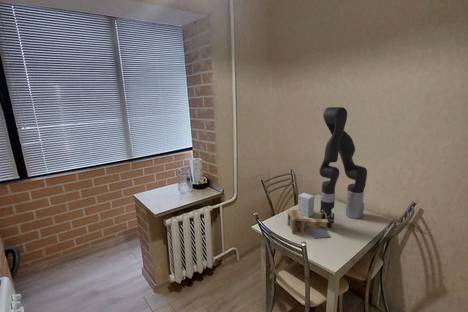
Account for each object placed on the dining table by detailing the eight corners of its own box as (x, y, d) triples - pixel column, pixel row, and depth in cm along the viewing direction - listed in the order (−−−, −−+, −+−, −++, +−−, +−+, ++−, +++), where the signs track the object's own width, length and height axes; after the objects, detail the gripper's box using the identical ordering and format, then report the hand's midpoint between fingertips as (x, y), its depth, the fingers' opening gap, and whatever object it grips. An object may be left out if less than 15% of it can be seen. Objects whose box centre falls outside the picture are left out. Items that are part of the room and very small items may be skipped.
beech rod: (331, 226, 149) (332, 219, 147) (333, 229, 145) (333, 222, 144) (304, 225, 151) (304, 218, 150) (304, 228, 148) (304, 221, 147)
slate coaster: (324, 228, 146) (324, 227, 146) (330, 237, 137) (330, 236, 137) (308, 229, 145) (308, 228, 145) (314, 238, 137) (314, 237, 137)
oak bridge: (298, 223, 153) (298, 209, 151) (303, 233, 142) (304, 218, 140) (287, 223, 153) (287, 210, 151) (292, 233, 142) (292, 219, 140)
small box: (313, 214, 163) (314, 195, 160) (308, 217, 160) (308, 198, 156) (303, 210, 170) (303, 192, 166) (297, 213, 166) (298, 195, 162)
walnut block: (298, 225, 150) (298, 217, 149) (301, 230, 145) (301, 222, 144) (289, 226, 150) (289, 218, 149) (292, 231, 145) (292, 222, 144)
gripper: (339, 204, 137) (337, 230, 141) (329, 194, 151) (327, 218, 155) (326, 204, 137) (324, 231, 141) (316, 194, 151) (315, 219, 155)
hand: (326, 224), depth 148 cm, fingers open, 8 cm apart
